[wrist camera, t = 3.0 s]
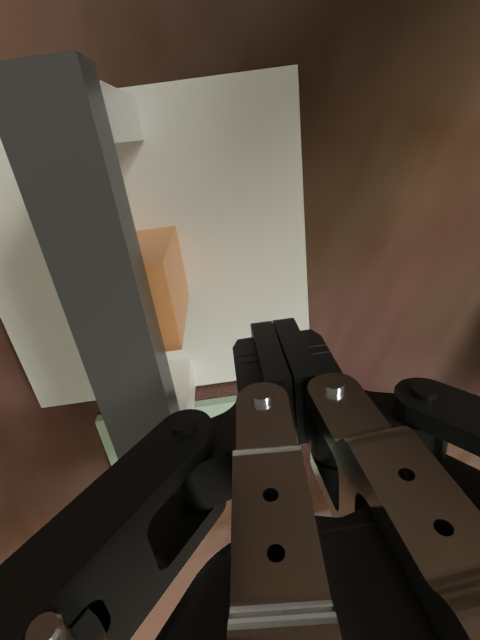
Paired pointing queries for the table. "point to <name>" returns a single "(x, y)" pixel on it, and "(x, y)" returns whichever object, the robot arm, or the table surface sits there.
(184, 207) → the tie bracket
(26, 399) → the table surface
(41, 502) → the table surface
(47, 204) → the strap
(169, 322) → the orange block
